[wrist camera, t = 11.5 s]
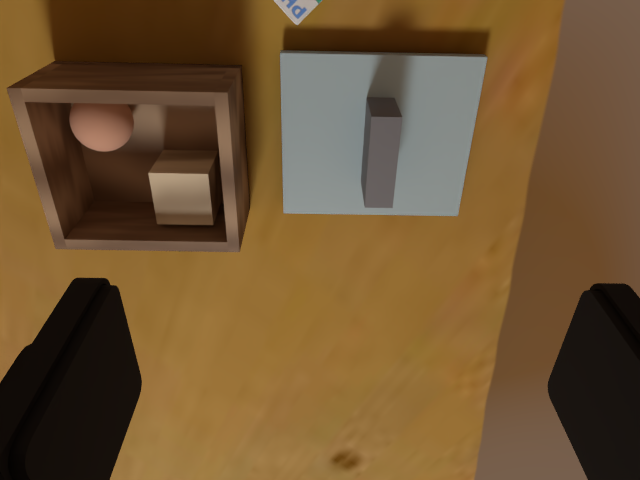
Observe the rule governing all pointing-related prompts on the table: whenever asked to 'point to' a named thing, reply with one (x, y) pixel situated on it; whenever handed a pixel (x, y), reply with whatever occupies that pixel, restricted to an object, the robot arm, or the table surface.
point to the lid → (377, 131)
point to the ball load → (101, 125)
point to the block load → (186, 187)
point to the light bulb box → (297, 8)
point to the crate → (133, 151)
